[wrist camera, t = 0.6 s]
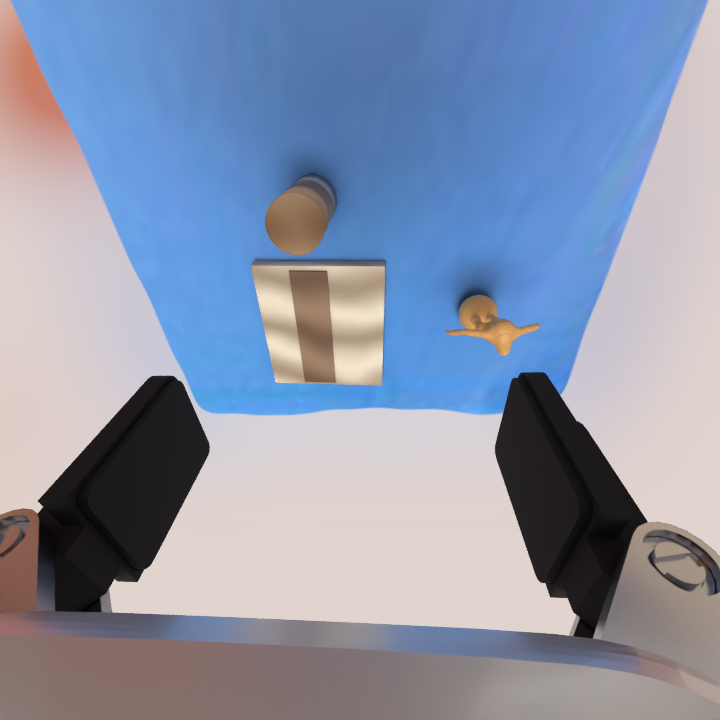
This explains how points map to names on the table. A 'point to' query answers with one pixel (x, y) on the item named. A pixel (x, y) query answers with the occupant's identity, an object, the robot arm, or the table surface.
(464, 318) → the figurine
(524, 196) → the table surface
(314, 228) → the brown cylinder
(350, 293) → the floor board
